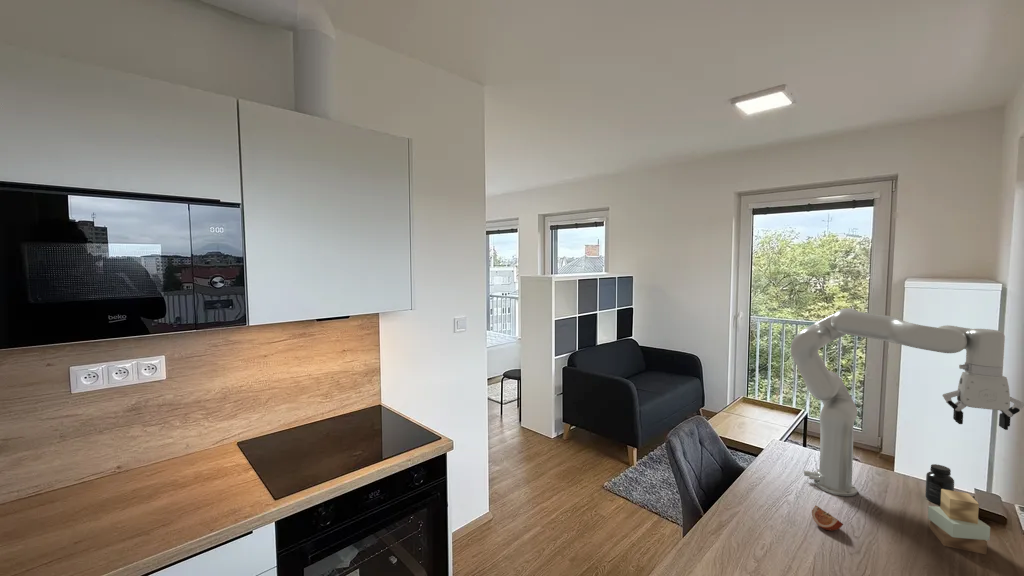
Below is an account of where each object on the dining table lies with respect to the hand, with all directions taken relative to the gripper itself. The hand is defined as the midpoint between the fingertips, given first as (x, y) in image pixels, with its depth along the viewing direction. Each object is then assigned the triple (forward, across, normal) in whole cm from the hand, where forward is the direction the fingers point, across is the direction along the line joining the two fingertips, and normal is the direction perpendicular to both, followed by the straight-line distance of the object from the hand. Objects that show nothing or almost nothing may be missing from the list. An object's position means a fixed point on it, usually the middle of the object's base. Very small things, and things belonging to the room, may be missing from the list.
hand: (980, 425), depth 128 cm
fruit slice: (+33, -40, -19) cm, 55 cm away
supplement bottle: (+33, -3, +16) cm, 37 cm away
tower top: (+29, -7, -10) cm, 32 cm away
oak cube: (+25, -7, -9) cm, 28 cm away
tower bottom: (+33, -7, -10) cm, 35 cm away
